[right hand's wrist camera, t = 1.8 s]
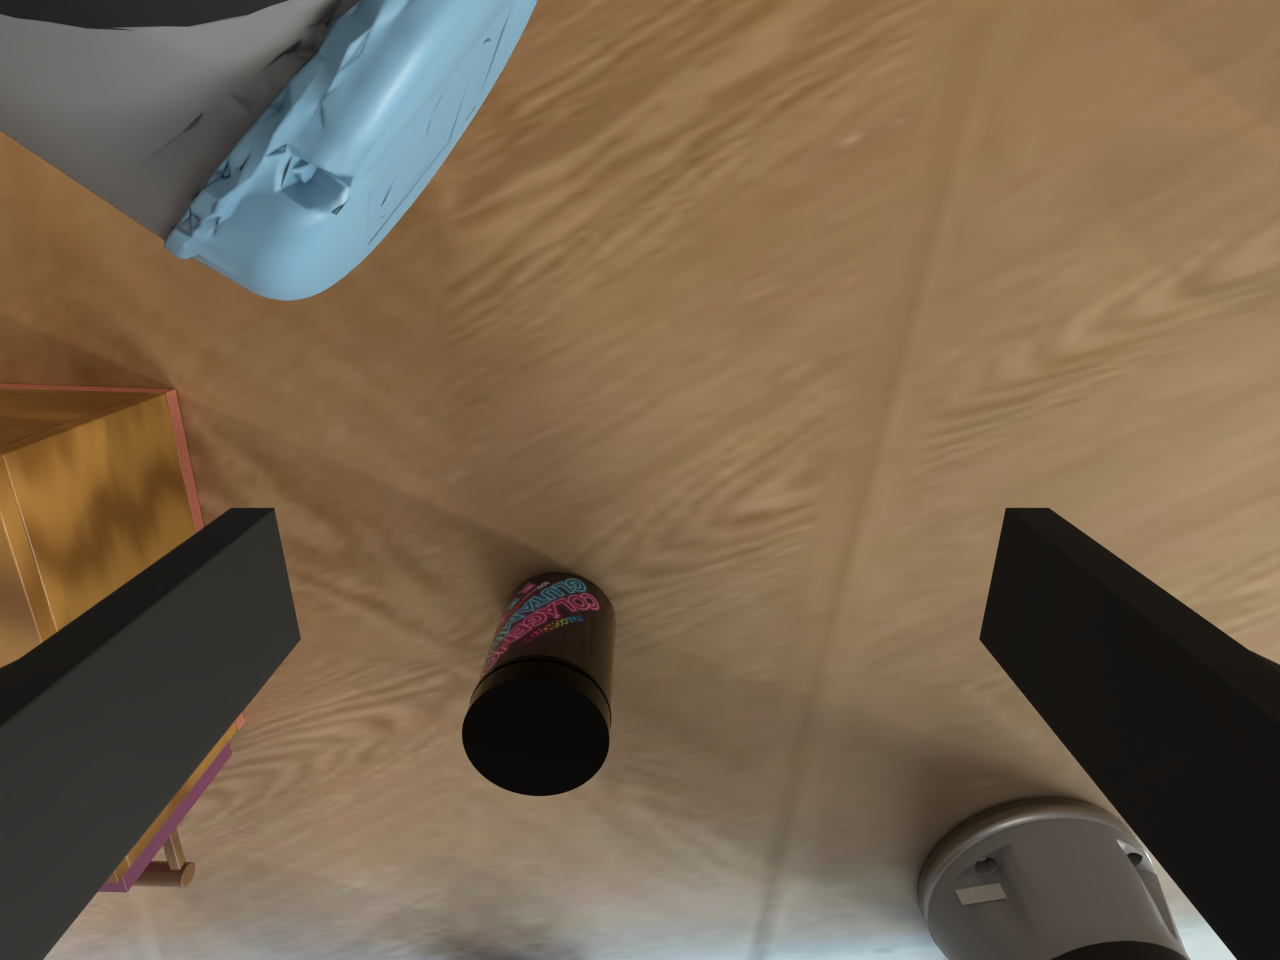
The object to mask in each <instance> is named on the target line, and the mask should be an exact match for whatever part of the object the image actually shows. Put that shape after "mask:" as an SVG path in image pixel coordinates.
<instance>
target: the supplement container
mask: <svg viewBox="0 0 1280 960" xmlns="http://www.w3.org/2000/svg"><path fill="white" fill-rule="evenodd" d="M615 627H616V620H615V613H614V610H613V607H612V605H611V603H610V601H609V599H608V598H607V596H606V595H605V594H604V592H603V591H602V590H601V589H600V588H599V587H598V586H597V585H595V584H594V583H593V582H591V581H590V580H588V579H586V578H584V577H582V576H579V575H576V574H573V573H568V572H547V573H542V574H539V575H536V576H534V577H531V578H529V579H528V580H526V581H524V582H523V583H521V584H520V585H519V586H518V587H517V588H515V590H514V591H513V592H512V593H511V594H510V596H509V597H508V599H507V601H506V604H505V606H504V609H503V612H502V615H501V618H500V621H499V623H498V626H497V629H496V632H495V635H494V638H493V641H492V644H491V646H490V649H489V652H488V655H487V658H486V661H485V664H484V666H483V669H482V672H481V675H480V678H479V681H478V684H477V686H476V688H475V689H474V692H473V694H472V697H471V700H470V704H469V707H468V710H467V713H466V716H465V719H464V723H463V728H462V739H463V745H464V749H465V751H466V754H467V756H468V758H469V760H470V761H471V763H472V764H473V766H474V767H475V768H476V769H477V770H478V772H480V773H481V774H482V775H483V776H484V777H485V778H486V779H488V780H489V781H491V782H492V783H494V784H495V785H497V786H499V787H501V788H504V789H506V790H509V791H512V792H515V793H519V794H524V795H531V796H548V795H556V794H560V793H564V792H567V791H570V790H573V789H575V788H577V787H579V786H581V785H582V784H584V783H585V782H587V781H588V780H589V779H591V778H592V777H593V776H594V775H595V774H596V773H597V772H598V770H599V769H600V768H601V766H602V764H603V763H604V761H605V759H606V756H607V753H608V749H609V739H610V727H611V694H612V678H613V661H614V644H615Z"/></svg>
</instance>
